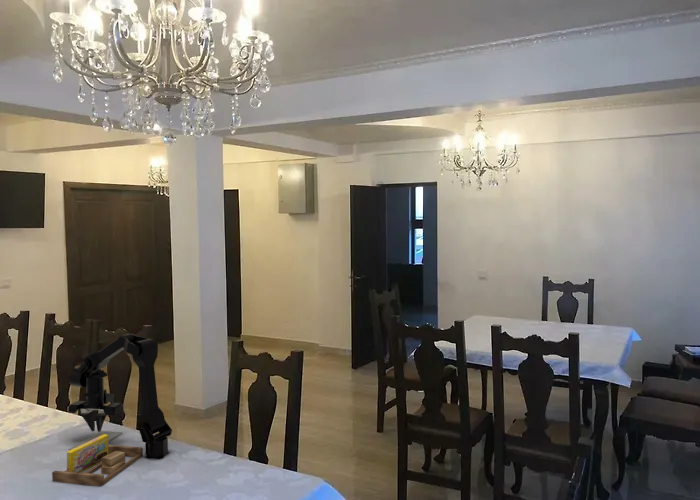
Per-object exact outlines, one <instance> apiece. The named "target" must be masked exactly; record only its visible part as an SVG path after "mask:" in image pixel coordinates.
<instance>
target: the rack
mask: <svg viewBox="0 0 700 500" xmlns="http://www.w3.org/2000/svg"><path fill="white" fill-rule="evenodd" d="M143 449H144V447H143V446H142V447H141V446H128V445H116V444H115V445H113V444H108V455H109V454H111V453H113V452H115V451H121V452H125V457H128V458H129V457H130V459H129V460H128V461H125V464H124V465H122V466H121V467H119V468H118V469H117V470H115V471H114V472H112V473H111V474H107V476H105V474H101V473H95V472H96V471H98V470H99V469H101V467H102V462H100V463H98V464H96V465H94V466H93V467H91V468H89V470H86V471H85V472H81V473H78V472H67V469H66V470H64V471H63V470H54V471H52V472H51V477H52V478H51V479H52V482H56V483H57V482H58V483H63V484H64V483H66V484H73V485H83V486H85V485H86V486H95V487H96V486H97V487H103V486H104V485H105V484H107V483H108V482H109V481H111V480H112V479H113V478H115V477H116V476H117V475H118V474H121V473H122V472H123V471H124V470H125V469H127V468H128V467H129V466H131V465H133V463H135V462H136V461H138V460H139V459H141V458H142V457H143V453H144V452H143V451H144V450H143Z"/></svg>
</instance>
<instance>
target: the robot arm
mask: <svg viewBox="0 0 700 500" xmlns="http://www.w3.org/2000/svg"><path fill="white" fill-rule="evenodd" d="M122 351H125V352H126V353H127V354H130V355H131V356H132V360H133V362H134V364H135V365H136V366H137V367H138V374H139V376H138V377H139V385H140V393H141V394H140V396H141V402H142V403H141V404H142V410H141V413H139V414H137V415H136V419H137V426H136V427H137V428H138V430H139V434H140V436H141V437H140V438H141V440H142V442H143V443H145V444H144V447H145V448H144V449H145V456H144V457H143V459H149V460H151V459H152V460H162V459H164V458H165V457H166V456H168V455H170V453H171V451H169V437H171V435H172V433H173V430H172V427H170V425H169V424H168V423H167V420H166V418H165V414H164V412H163V411H162V409H161V408H160V406H159V402H158V391H157V382H156V381H157V380H156V373H155V372H156V371H155V363H156V360H157V358H158V353H159V345H158V342H157V341H155V339H153V338H148V337H144V336H140V335H135V334H134V333H125V334H122V335H120V336H118V337H117V338H116V339H115V340H114V341H112V342H111V343H109V344H108V345H106V346H105V347H103V348H102V349H100V350H99V351H96V352H93V353H91V354H88V355H85V356H84V357H83V358H82V362H81V363H80V365H79V366H77V367H73V368H72V372H70V375H69V377H68V383H69V385H71V386H73V387H79V388H86V390H85V391H86V392H85V393H83V397H86V400H85V401H84V400H77V401H74V402H73V403H70V404H69V405H68V407H67V412H68V413H69V414H76V413H77V412H78V410H80V413H79V416H80V417H82V418H83V420H84V421H85V422H86V424H87V426H88V427H89V429H90V431H91V432H93V433H94V432H95V430H96V429H97V433H98V432H100V431H102V428H103V425H104V422H105V419H106V417H107V416H115V415H117V414H120V413H121V412H123V411H124V405H123V404H122V403H121V402H114V399H115V398H114V397H115V393H108V392H107V389H105V388H104V387H105V383H104V378H106V377H108V373H107V372H106V371H104V369H103V368H105V367H106V366H107V365H108V364H109V363H110V360H111V359H112V358H113V357H115V356H117V355H118V354H119V353H121V352H122ZM97 370H98V371H97ZM109 403H110V404H109ZM107 404H108V405H107ZM97 412H98V413H97ZM96 413H97V414H96Z"/></svg>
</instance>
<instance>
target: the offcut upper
mask: <svg viewBox="0 0 700 500" xmlns="http://www.w3.org/2000/svg"><path fill="white" fill-rule="evenodd" d="M124 460H125V461H126V456H125V452H121V451H115V452H113V453H111V454H109V455H106V456H104V457H102V466H107V467H112V466H114V465H116V464H118V463H120V462H122V461H124Z"/></svg>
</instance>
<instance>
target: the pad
mask: <svg viewBox="0 0 700 500" xmlns="http://www.w3.org/2000/svg"><path fill="white" fill-rule="evenodd" d="M103 434H106V435H108V443H110V442H112V441H114V440H115V439H117V438H118V437H120V436H121V435H122V434H123V431H113V430H112V431H111V430H109V431H108V430H101V431H100V432H98V431H97V432H96V433H94V434H92V435H91V436H89V437H87V438H86V439H84V440H83V441H81V442H79V443H77V444H76V445H74V446H72V447H69V449H68V451H70V450H72V449H74V448H76V447H78V446H80V445H82V444H85V443H87V442H89V441H91V440H93V439H95V438H97V437H99V436H101V435H103Z"/></svg>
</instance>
